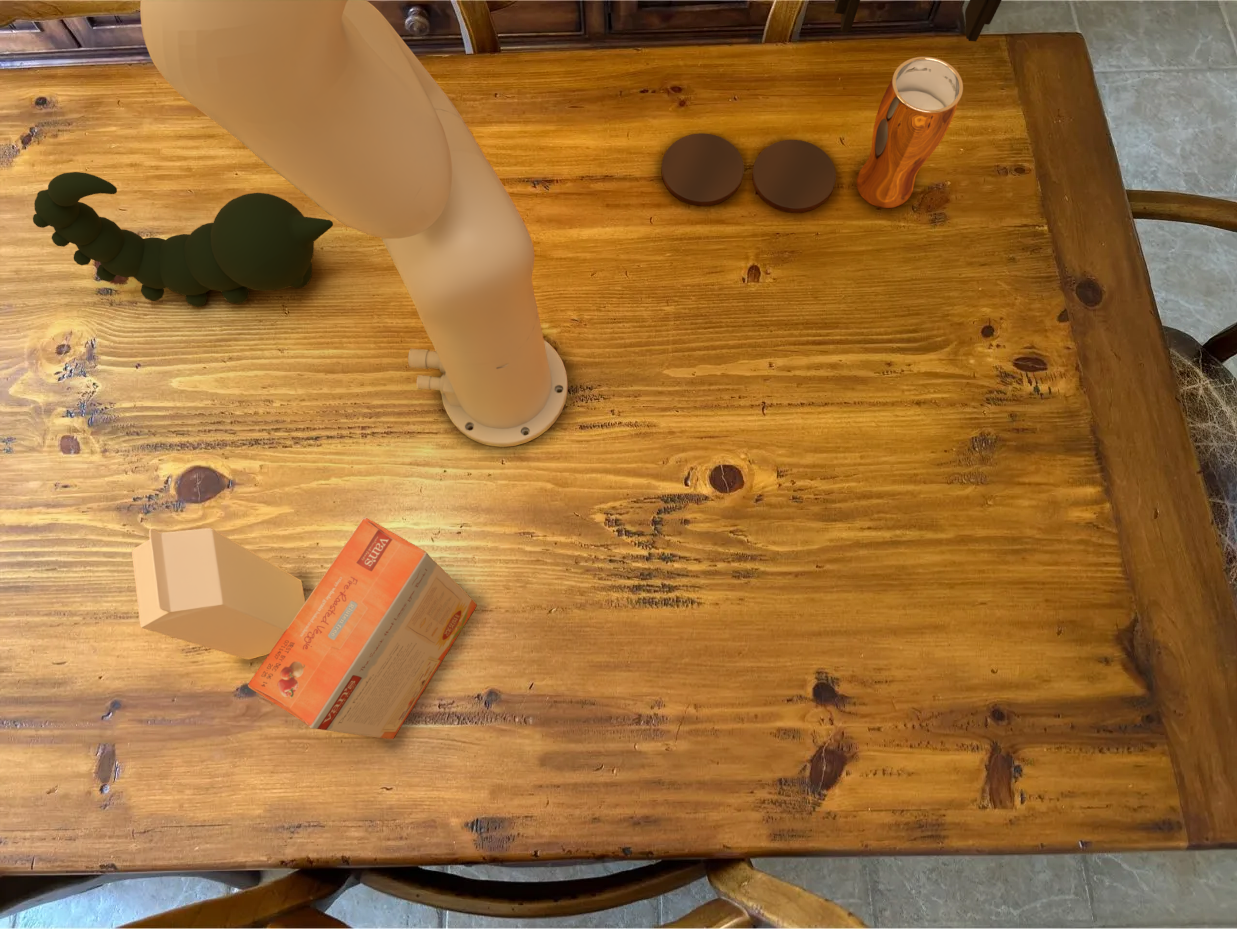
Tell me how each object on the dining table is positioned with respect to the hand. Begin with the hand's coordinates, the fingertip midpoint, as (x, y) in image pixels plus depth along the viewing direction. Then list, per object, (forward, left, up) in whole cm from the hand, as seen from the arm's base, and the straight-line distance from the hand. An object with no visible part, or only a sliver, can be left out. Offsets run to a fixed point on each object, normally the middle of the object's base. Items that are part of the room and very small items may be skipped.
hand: (907, 22), depth 69 cm
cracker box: (-37, -49, -28) cm, 67 cm away
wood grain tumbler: (+6, +6, -28) cm, 29 cm away
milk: (-50, -47, -28) cm, 74 cm away
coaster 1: (-14, +6, -28) cm, 32 cm away
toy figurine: (-62, -12, -28) cm, 69 cm away
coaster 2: (-4, +6, -28) cm, 29 cm away
